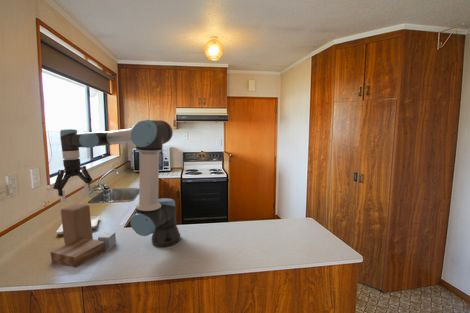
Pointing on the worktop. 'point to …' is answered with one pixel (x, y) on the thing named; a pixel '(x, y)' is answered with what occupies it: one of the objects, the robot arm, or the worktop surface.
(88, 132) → the robot arm
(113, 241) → the slate cube
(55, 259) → the plinth
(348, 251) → the worktop surface
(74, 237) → the block
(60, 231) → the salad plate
